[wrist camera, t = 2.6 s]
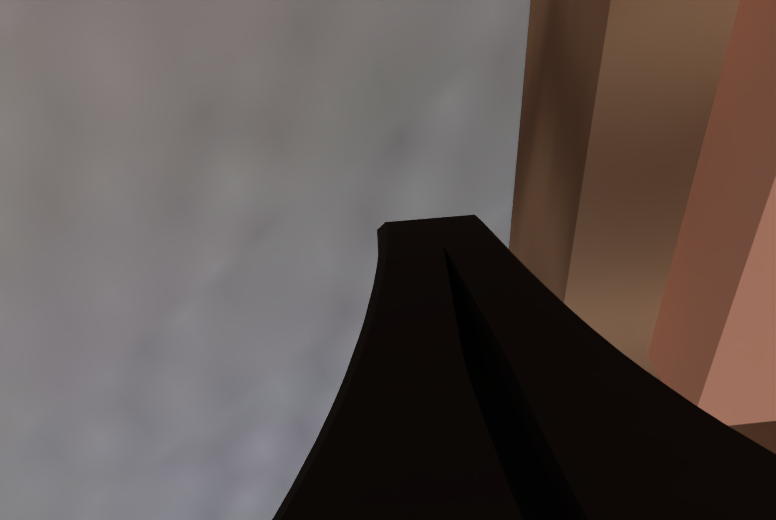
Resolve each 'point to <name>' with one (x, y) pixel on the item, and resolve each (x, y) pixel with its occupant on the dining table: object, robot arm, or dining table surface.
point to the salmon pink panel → (729, 243)
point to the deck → (615, 155)
